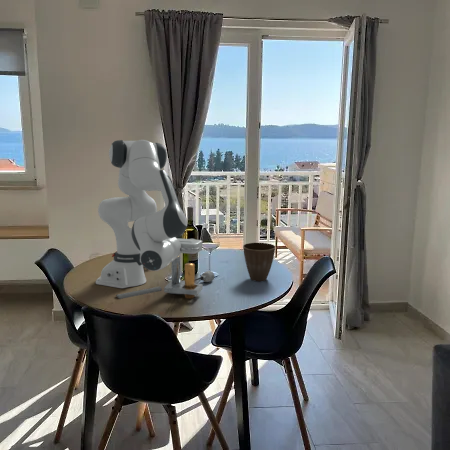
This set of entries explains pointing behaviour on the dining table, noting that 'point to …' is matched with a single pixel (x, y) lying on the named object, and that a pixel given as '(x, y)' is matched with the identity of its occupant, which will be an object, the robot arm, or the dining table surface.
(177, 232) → the robot arm
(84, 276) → the dining table surface
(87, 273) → the dining table surface
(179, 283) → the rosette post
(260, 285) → the dining table surface
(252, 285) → the dining table surface
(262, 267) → the plant pot
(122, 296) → the gray half cylinder
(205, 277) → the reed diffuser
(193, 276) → the wedge pin
